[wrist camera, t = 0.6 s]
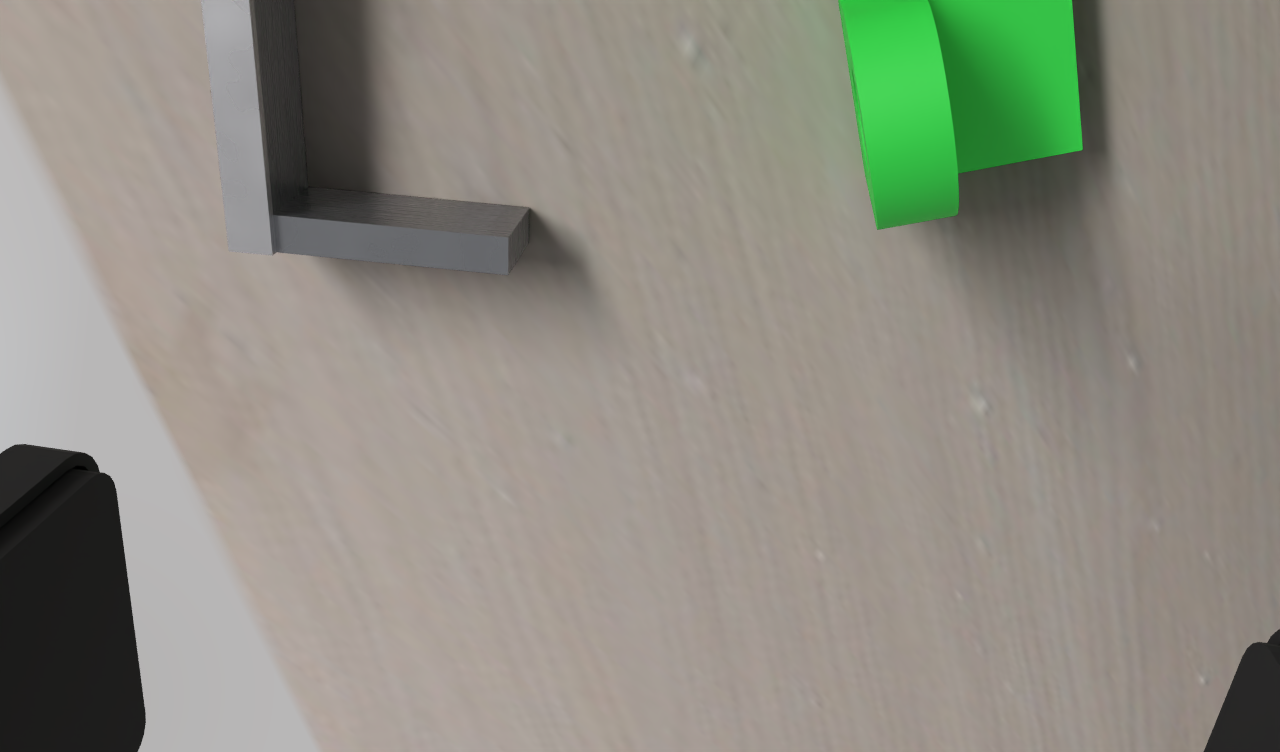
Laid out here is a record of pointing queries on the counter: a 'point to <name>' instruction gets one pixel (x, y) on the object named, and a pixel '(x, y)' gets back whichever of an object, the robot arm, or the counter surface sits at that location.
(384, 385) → the counter surface
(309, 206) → the steel bracket
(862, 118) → the mechanical part
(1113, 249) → the counter surface
